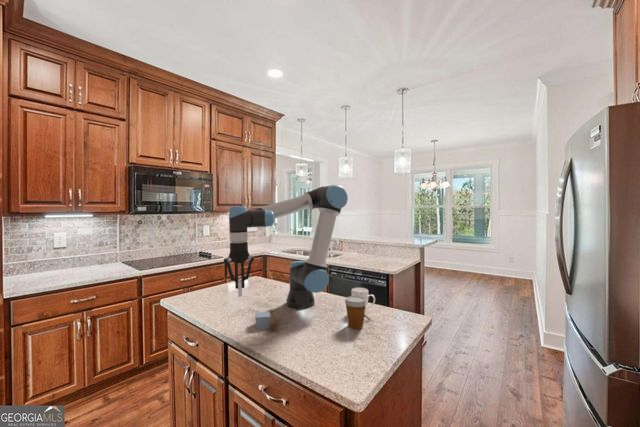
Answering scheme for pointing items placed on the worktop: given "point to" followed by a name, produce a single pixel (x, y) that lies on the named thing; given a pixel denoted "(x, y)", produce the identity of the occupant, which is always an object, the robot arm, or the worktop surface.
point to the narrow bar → (273, 321)
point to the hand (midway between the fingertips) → (240, 295)
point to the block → (262, 320)
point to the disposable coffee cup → (355, 311)
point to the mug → (362, 294)
